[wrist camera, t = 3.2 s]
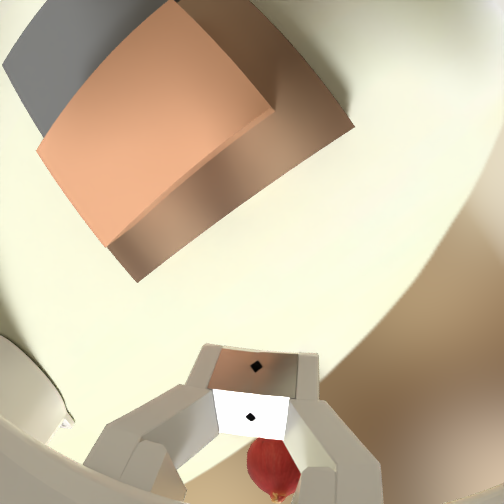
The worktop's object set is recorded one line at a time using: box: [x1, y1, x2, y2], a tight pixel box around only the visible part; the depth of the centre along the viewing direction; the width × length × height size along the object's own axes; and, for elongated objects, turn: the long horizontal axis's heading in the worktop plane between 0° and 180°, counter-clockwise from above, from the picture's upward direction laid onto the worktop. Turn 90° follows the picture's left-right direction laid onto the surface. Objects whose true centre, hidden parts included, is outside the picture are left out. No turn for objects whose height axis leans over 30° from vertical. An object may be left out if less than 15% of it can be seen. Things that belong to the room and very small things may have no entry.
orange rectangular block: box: [36, 0, 275, 248], centre depth 11 cm, size 9×6×3 cm, turn 127°
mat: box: [2, 0, 180, 137], centre depth 11 cm, size 15×9×1 cm, turn 127°
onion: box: [247, 437, 301, 503], centre depth 20 cm, size 6×6×8 cm
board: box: [107, 0, 355, 283], centre depth 14 cm, size 14×10×2 cm
